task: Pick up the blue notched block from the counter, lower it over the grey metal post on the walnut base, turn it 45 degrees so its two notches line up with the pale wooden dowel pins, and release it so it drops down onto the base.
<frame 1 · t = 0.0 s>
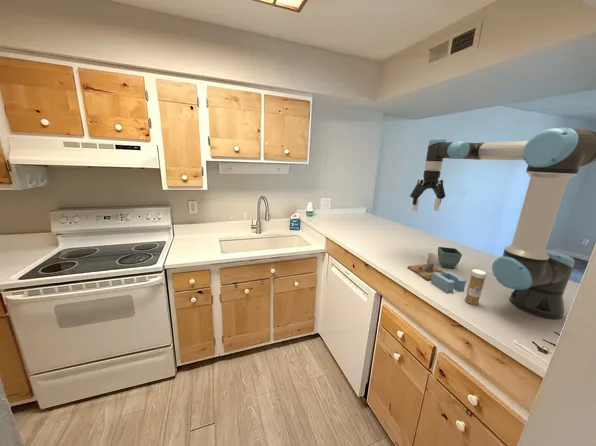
hand: (425, 210, 129), 28 cm above the counter, fingers open, 13 cm apart
flower pot: (446, 266, 129), on the counter
blue notched block: (446, 286, 108), on the counter
sprinkles bottle: (471, 302, 96), on the counter
post base: (428, 272, 120), on the counter
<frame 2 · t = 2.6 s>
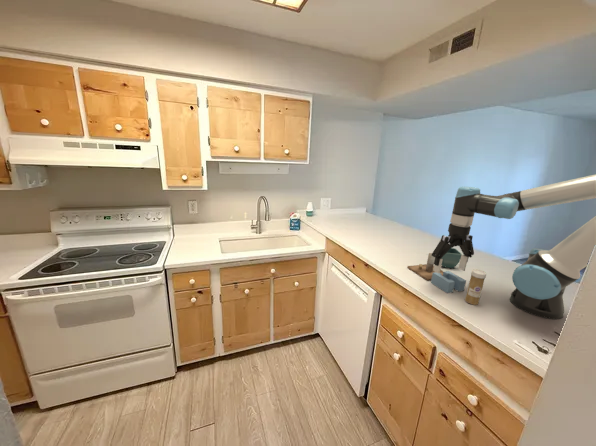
hand: (449, 270, 106), 8 cm above the counter, fingers open, 13 cm apart
nothing on the counter moved.
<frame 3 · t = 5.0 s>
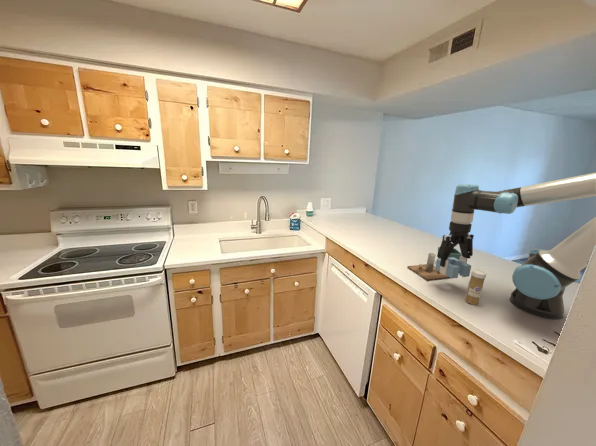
hand: (451, 272, 105), 7 cm above the counter, fingers closed on blue notched block, 9 cm apart
blue notched block: (451, 272, 105), point 7 cm above the counter, touching gripper
everything else where it was.
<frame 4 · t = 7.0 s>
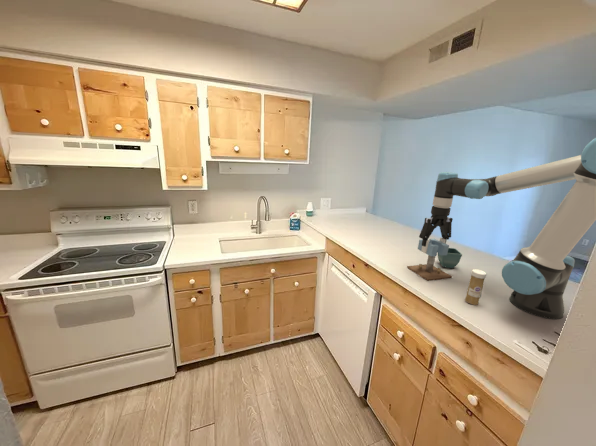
hand: (432, 251, 117), 11 cm above the counter, fingers closed on blue notched block, 9 cm apart
blue notched block: (431, 252, 118), point 11 cm above the counter, touching gripper
everything else where it was.
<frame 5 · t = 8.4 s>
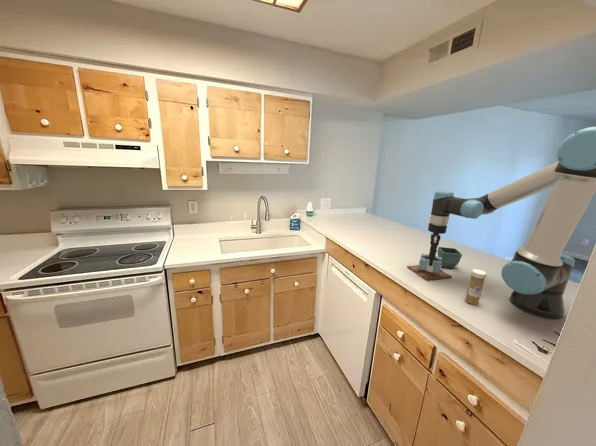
hand: (429, 267, 119), 3 cm above the counter, fingers closed on blue notched block, 9 cm apart
blue notched block: (429, 267, 119), point 3 cm above the counter, touching gripper
everything else where it was.
when the fingers open (3 cm above the counter, at t = 9.4 s): blue notched block drops 2 cm, resting on post base.
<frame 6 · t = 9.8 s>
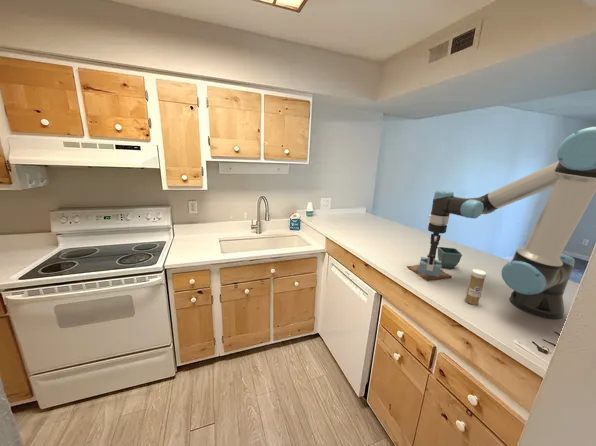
hand: (430, 265, 119), 4 cm above the counter, fingers open, 13 cm apart
blue notched block: (428, 271, 120), point 1 cm above the counter, touching post base
everything else where it was.
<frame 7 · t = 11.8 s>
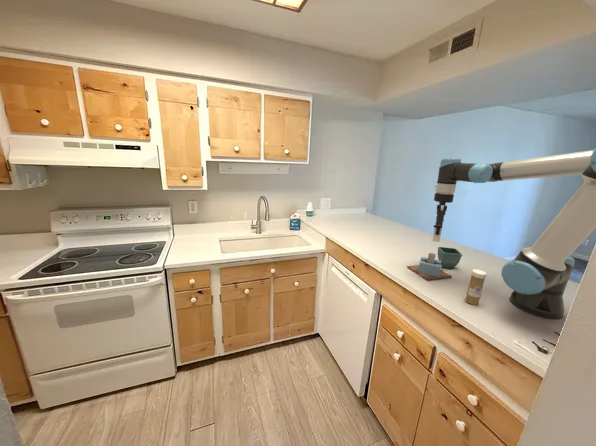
hand: (436, 237, 115), 19 cm above the counter, fingers open, 13 cm apart
nothing on the counter moved.
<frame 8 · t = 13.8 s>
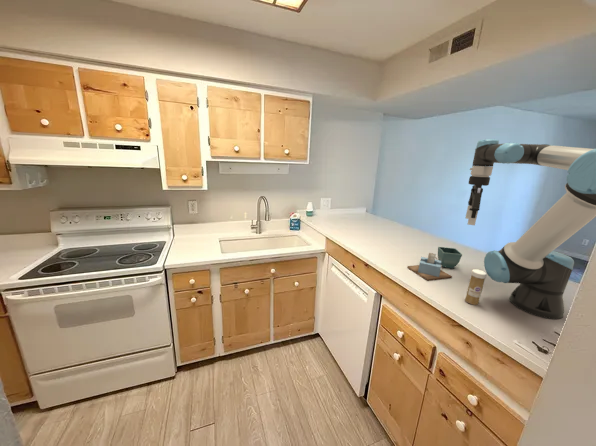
hand: (469, 221, 114), 27 cm above the counter, fingers open, 13 cm apart
nothing on the counter moved.
at the end: blue notched block 0.1 cm from the post base (horizontally); blue notched block point 1.0 cm above the counter; blue notched block tilted 0° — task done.
